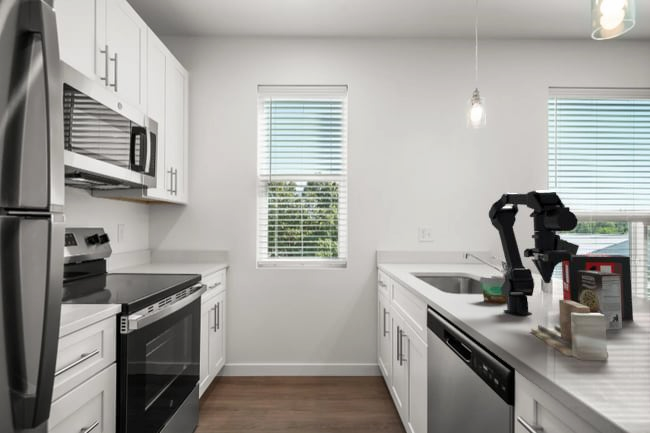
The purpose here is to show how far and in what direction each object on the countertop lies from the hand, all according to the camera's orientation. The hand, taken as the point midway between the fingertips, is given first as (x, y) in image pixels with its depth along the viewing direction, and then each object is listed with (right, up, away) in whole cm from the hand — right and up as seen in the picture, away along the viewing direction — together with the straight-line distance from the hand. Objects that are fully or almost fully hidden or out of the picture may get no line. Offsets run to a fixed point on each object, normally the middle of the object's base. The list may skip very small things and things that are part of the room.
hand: (547, 283), depth 109 cm
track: (-5, -13, -17) cm, 22 cm away
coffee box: (+16, -13, 0) cm, 20 cm away
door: (-6, -11, -20) cm, 24 cm away
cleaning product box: (+23, -13, +11) cm, 29 cm away
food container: (+2, -15, +35) cm, 38 cm away
